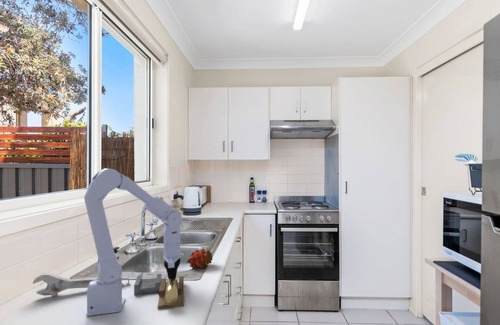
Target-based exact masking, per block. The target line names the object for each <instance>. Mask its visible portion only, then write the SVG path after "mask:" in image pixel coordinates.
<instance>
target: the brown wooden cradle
mask: <svg viewBox="0 0 500 325" xmlns="http://www.w3.org/2000/svg"><path fill="white" fill-rule="evenodd" d="M184 278H185V277H184V276H178V301H177V303H176V304H175V305H173V306H168V305H166V304H165V290H166V282H167V278H166V277H163V278H162V279H161V284H160V289H159V292H158V302H157V310H162V309H163V310H164V309H168V308H170V309H171V308H177V307H184V306H185V283H184V282H185V279H184Z"/></svg>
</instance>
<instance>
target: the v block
mask: <svg viewBox="0 0 500 325" xmlns="http://www.w3.org/2000/svg"><path fill="white" fill-rule="evenodd" d="M161 279H162V273H157V274H156V277H154V278H152V277H151V278H144V279H143V275H137V277H136V279H135V282H134V284H133V296H139V295H148V294H155V293H158V294H159V289H160V284H161Z"/></svg>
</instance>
